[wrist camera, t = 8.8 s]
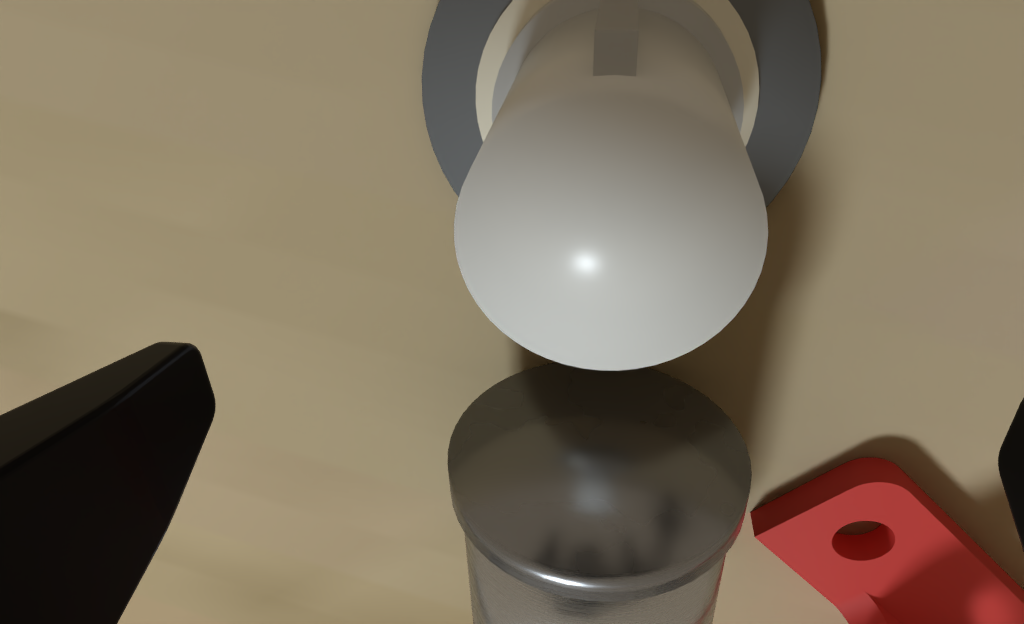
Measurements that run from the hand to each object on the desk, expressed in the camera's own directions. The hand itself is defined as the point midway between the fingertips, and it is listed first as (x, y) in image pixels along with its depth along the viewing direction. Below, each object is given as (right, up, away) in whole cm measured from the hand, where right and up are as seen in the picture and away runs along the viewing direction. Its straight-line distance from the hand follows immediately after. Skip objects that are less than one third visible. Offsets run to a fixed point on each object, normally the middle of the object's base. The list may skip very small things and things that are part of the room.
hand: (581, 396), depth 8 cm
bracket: (+13, -8, +17) cm, 22 cm away
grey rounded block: (+2, -4, +15) cm, 16 cm away
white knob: (+2, +6, +9) cm, 10 cm away
